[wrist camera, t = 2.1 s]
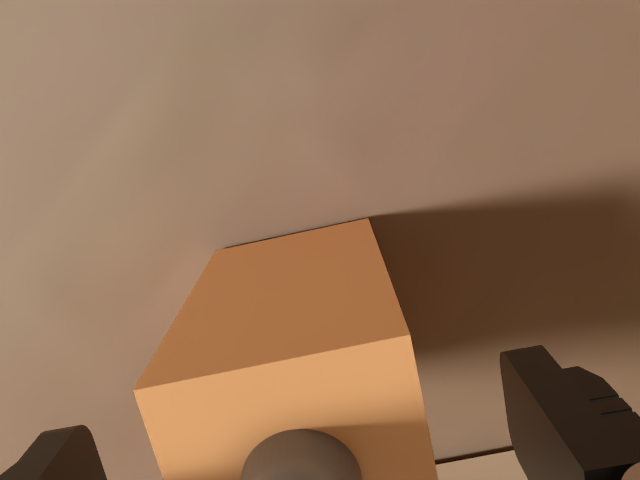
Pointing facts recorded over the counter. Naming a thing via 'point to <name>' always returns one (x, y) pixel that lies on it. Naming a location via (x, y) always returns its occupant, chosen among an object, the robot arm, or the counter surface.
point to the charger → (289, 368)
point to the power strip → (483, 468)
